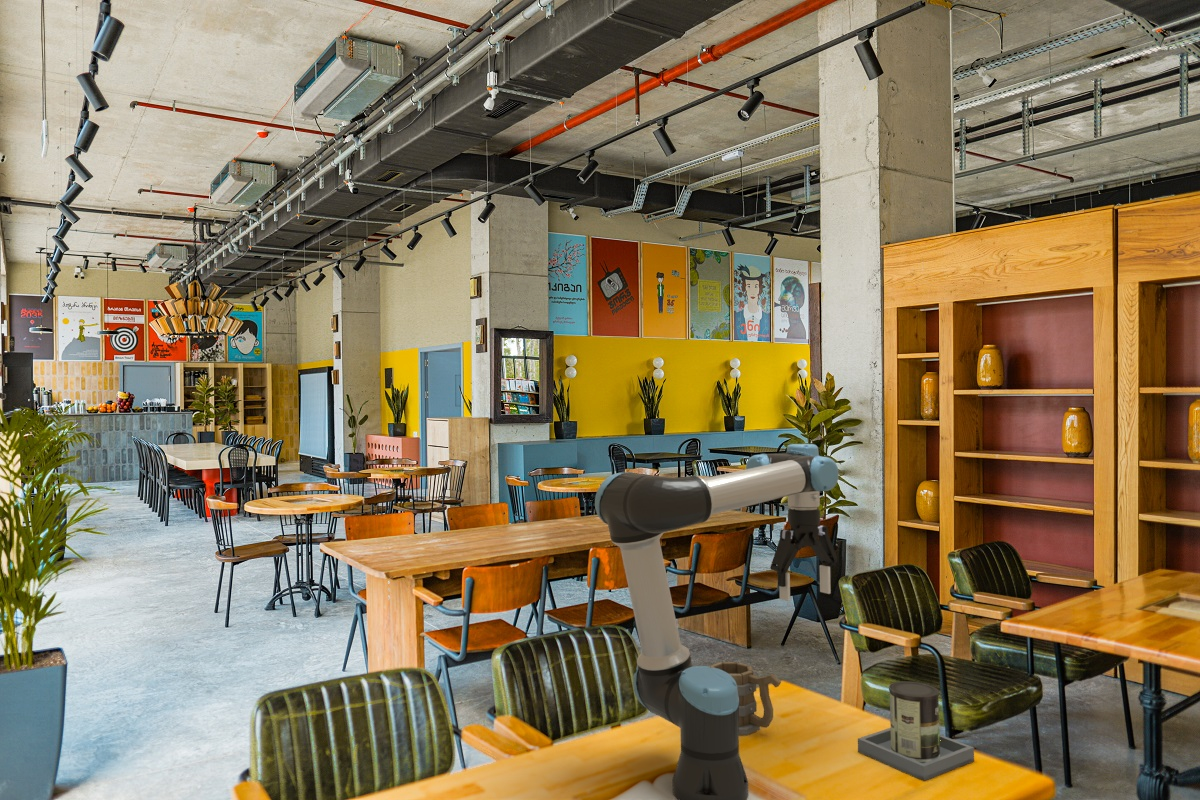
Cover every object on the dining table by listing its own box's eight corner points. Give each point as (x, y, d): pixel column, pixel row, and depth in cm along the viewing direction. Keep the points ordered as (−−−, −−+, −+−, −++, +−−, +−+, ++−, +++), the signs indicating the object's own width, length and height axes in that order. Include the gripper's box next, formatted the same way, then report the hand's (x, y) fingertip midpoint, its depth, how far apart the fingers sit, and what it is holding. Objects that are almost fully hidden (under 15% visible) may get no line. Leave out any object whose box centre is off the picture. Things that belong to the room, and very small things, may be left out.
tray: (924, 781, 164) (923, 766, 164) (857, 751, 179) (857, 738, 179) (974, 761, 173) (973, 747, 173) (907, 735, 188) (907, 722, 188)
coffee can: (934, 744, 180) (933, 681, 180) (945, 764, 170) (943, 698, 170) (886, 741, 182) (885, 679, 182) (893, 761, 172) (892, 695, 172)
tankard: (695, 725, 195) (694, 663, 196) (728, 712, 204) (727, 652, 204) (762, 750, 180) (761, 683, 181) (794, 734, 189) (793, 670, 189)
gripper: (777, 513, 183) (778, 606, 183) (851, 505, 196) (853, 592, 196) (754, 510, 190) (755, 600, 189) (828, 503, 203) (829, 586, 202)
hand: (805, 596), depth 193 cm, fingers open, 13 cm apart
